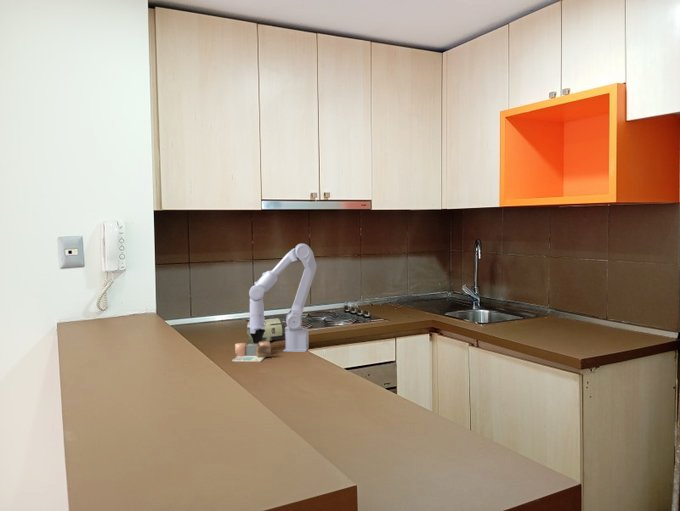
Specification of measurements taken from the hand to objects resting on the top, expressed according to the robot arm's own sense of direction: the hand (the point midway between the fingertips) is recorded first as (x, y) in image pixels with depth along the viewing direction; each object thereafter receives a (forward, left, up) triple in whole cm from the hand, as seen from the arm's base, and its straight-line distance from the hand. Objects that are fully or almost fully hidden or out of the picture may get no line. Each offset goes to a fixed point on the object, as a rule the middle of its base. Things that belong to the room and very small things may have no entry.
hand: (257, 347), depth 221 cm
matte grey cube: (0, +7, -1) cm, 8 cm away
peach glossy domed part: (+4, +8, -1) cm, 10 cm away
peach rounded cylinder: (-4, +4, -1) cm, 6 cm away
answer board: (0, +9, -2) cm, 10 cm away
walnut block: (-5, +10, -1) cm, 11 cm away
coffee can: (+7, -14, +4) cm, 16 cm away
